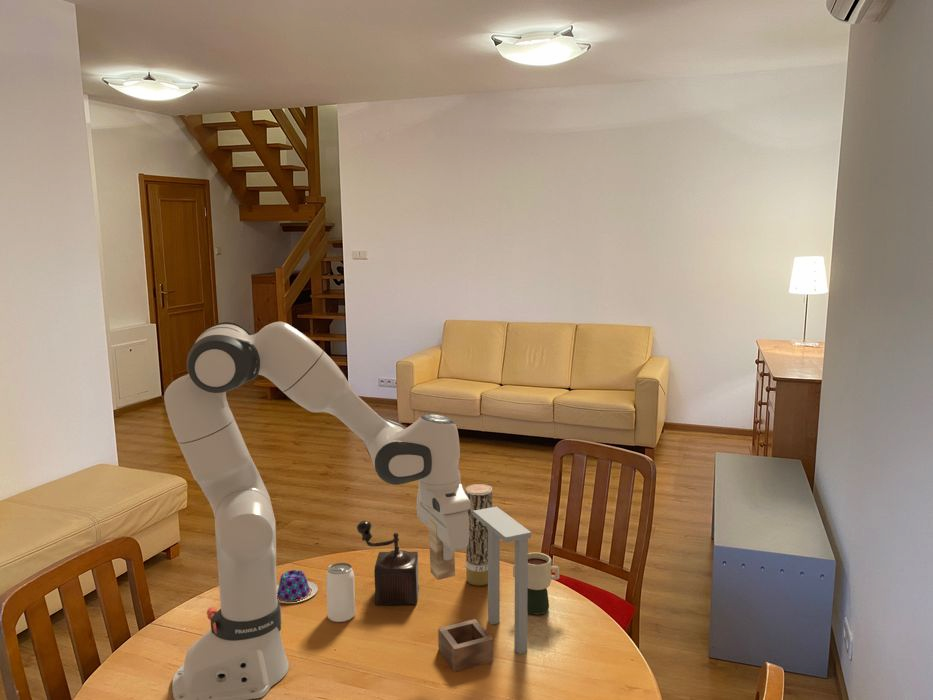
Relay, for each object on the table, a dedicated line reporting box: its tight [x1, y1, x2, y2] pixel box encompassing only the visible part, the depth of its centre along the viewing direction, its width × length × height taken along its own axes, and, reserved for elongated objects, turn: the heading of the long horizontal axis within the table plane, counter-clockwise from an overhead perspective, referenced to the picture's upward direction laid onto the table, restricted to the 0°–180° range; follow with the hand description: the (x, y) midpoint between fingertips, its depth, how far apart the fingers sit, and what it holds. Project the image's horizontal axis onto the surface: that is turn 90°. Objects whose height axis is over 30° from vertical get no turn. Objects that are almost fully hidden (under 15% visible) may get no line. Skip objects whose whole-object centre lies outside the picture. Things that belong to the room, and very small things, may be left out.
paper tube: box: [465, 483, 493, 587], centre depth 180 cm, size 7×7×25 cm
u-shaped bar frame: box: [473, 506, 532, 655], centre depth 154 cm, size 6×16×27 cm, turn 24°
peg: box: [428, 519, 456, 581], centre depth 148 cm, size 4×4×12 cm
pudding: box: [277, 569, 319, 604], centre depth 176 cm, size 12×12×5 cm
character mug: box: [512, 552, 560, 615], centre depth 167 cm, size 11×7×13 cm, turn 86°
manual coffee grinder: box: [356, 520, 420, 607], centre depth 174 cm, size 16×11×18 cm
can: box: [325, 562, 356, 623], centre depth 165 cm, size 6×6×12 cm
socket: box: [437, 618, 494, 673], centre depth 149 cm, size 9×9×5 cm
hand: (441, 553), depth 148 cm, fingers closed on peg, 4 cm apart
